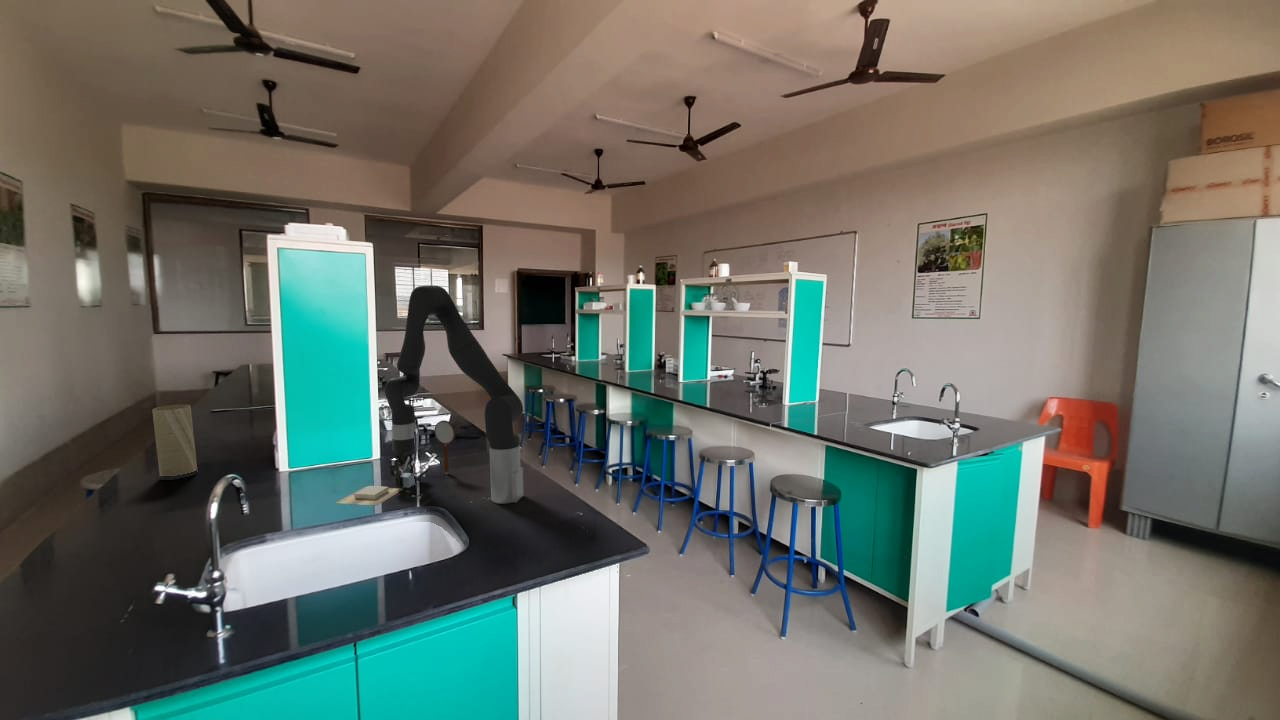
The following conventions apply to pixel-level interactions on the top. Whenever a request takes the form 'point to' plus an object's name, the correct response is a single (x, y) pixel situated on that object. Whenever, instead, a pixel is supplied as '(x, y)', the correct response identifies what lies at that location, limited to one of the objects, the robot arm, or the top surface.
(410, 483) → the block
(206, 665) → the top surface
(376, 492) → the tile
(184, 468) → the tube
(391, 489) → the cork mat
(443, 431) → the magnifying glass
